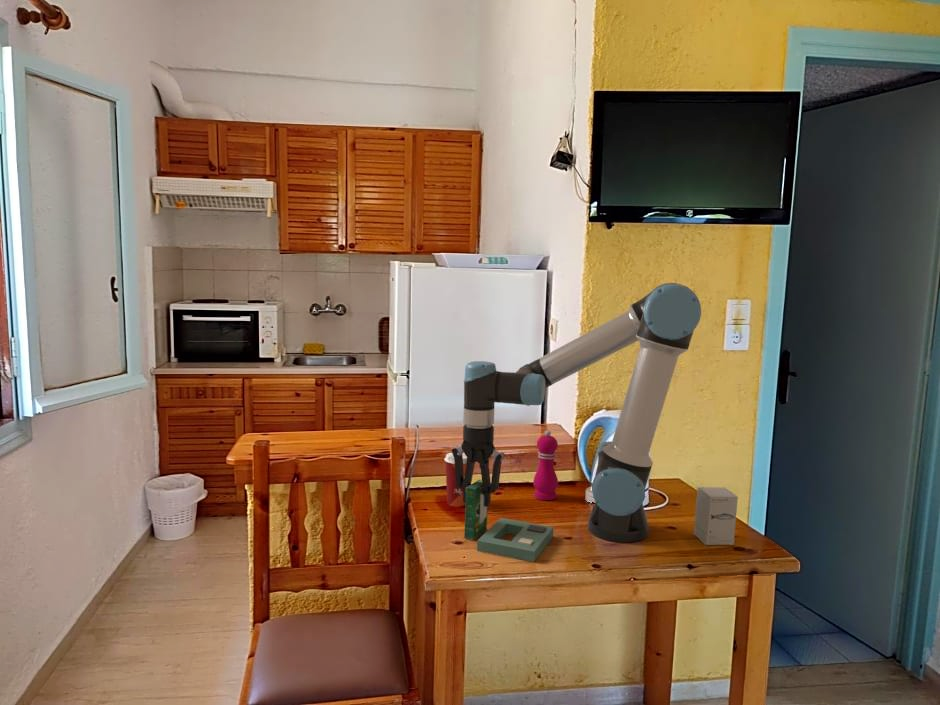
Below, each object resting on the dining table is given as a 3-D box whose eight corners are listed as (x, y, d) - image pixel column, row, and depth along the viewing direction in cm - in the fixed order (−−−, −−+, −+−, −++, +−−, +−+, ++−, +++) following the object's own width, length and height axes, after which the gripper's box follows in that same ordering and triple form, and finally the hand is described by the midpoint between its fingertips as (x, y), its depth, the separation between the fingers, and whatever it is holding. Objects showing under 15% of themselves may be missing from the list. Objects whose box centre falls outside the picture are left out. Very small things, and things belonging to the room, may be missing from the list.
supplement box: (705, 546, 163) (709, 496, 162) (693, 534, 171) (696, 486, 169) (734, 545, 164) (738, 496, 162) (721, 533, 171) (724, 486, 170)
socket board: (553, 536, 167) (553, 525, 166) (533, 562, 152) (534, 549, 152) (500, 527, 172) (500, 516, 172) (477, 550, 157) (477, 538, 157)
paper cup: (461, 510, 183) (462, 460, 182) (438, 504, 187) (439, 456, 186) (476, 502, 190) (477, 454, 188) (453, 496, 194) (454, 449, 192)
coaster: (618, 510, 187) (618, 498, 186) (582, 505, 190) (582, 493, 189) (621, 499, 196) (622, 487, 196) (587, 494, 199) (588, 483, 199)
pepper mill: (539, 502, 191) (542, 434, 188) (528, 494, 197) (530, 428, 195) (562, 500, 193) (564, 432, 191) (550, 492, 200) (552, 426, 197)
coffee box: (477, 527, 171) (478, 478, 170) (487, 529, 170) (489, 480, 168) (463, 538, 164) (464, 487, 163) (473, 541, 163) (475, 489, 161)
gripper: (514, 425, 164) (511, 517, 167) (454, 418, 170) (452, 506, 173) (504, 431, 157) (501, 527, 160) (442, 424, 163) (440, 516, 166)
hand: (476, 516), depth 167 cm, fingers closed on coffee box, 3 cm apart
